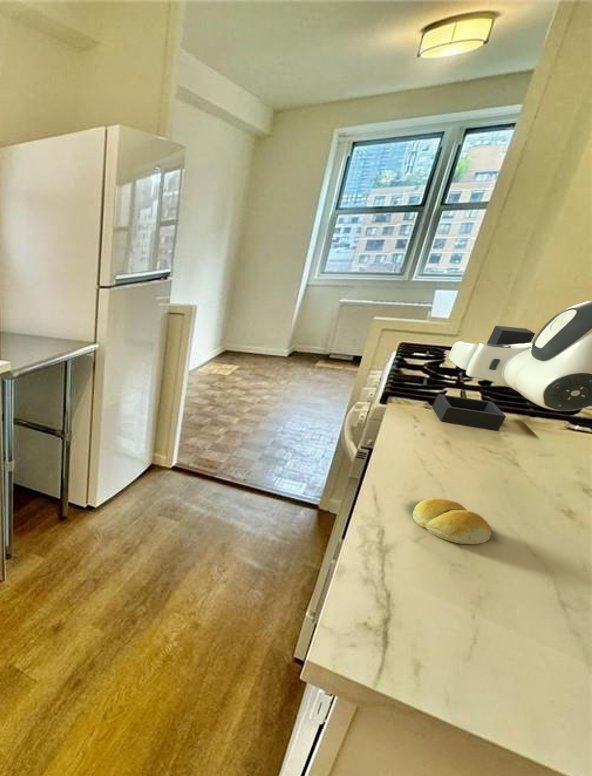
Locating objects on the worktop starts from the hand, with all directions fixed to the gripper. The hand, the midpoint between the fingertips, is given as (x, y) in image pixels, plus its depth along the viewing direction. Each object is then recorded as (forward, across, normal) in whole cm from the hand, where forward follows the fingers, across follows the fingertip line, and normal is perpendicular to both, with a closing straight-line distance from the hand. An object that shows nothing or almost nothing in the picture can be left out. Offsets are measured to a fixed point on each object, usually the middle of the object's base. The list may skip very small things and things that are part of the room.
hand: (502, 349), depth 103 cm
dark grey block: (-1, 0, +6) cm, 6 cm away
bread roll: (-54, +17, +17) cm, 59 cm away
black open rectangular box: (+2, 0, +17) cm, 17 cm away
